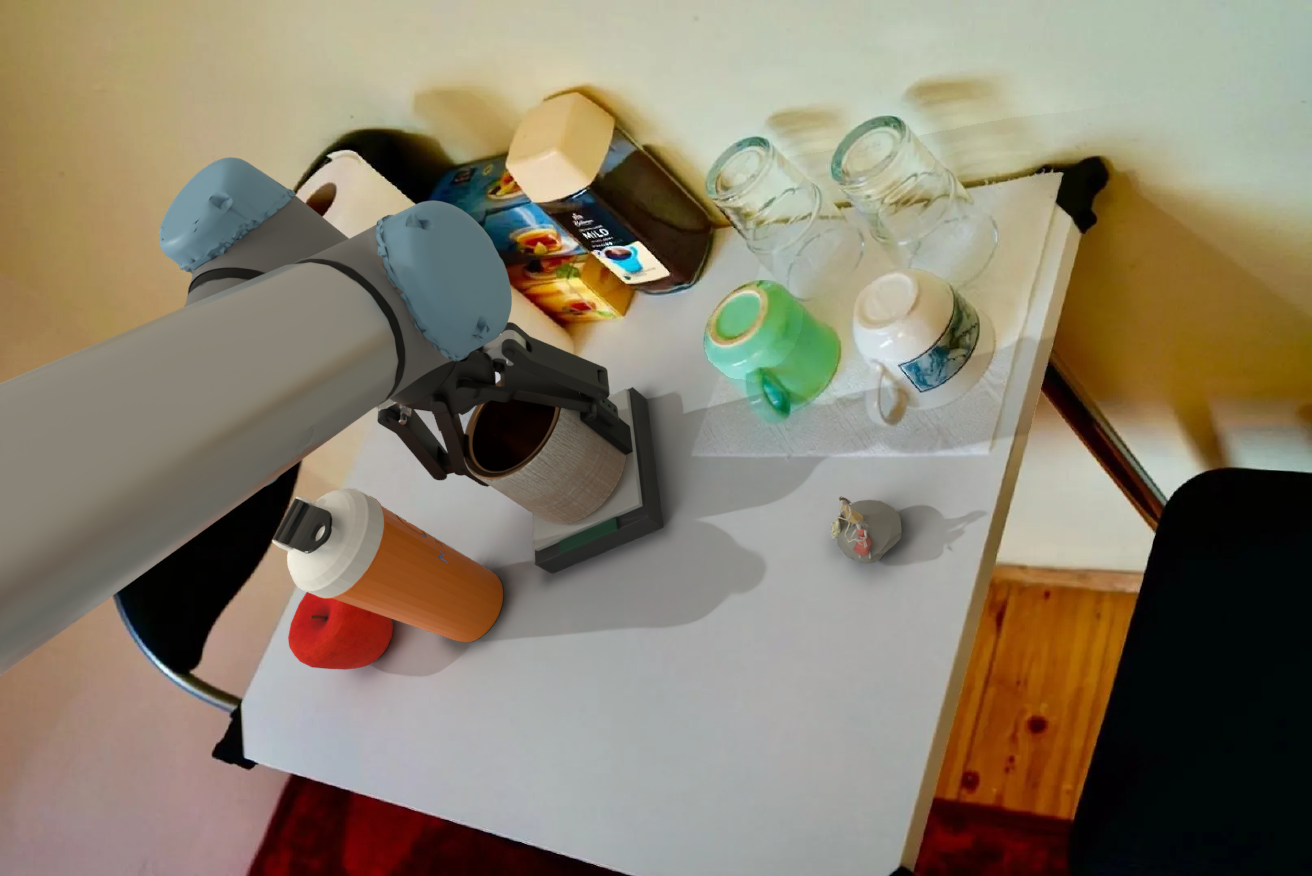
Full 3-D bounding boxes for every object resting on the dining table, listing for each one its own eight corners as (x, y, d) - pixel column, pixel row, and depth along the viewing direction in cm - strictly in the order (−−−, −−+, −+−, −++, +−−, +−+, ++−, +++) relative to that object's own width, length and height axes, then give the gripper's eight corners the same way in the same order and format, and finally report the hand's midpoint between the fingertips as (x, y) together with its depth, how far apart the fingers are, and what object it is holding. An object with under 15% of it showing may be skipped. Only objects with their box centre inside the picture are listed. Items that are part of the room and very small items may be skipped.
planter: (579, 548, 76) (505, 503, 69) (514, 496, 83) (441, 450, 76) (653, 443, 77) (587, 388, 70) (581, 401, 84) (515, 348, 77)
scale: (663, 528, 76) (644, 514, 74) (551, 575, 80) (530, 563, 78) (646, 398, 84) (629, 383, 82) (545, 448, 89) (526, 434, 86)
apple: (379, 582, 93) (319, 555, 88) (422, 616, 87) (360, 589, 82) (332, 659, 92) (267, 637, 86) (372, 698, 86) (306, 678, 80)
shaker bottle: (492, 660, 80) (309, 585, 65) (427, 645, 85) (245, 574, 71) (524, 565, 83) (357, 474, 68) (460, 557, 88) (292, 471, 74)
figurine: (909, 507, 64) (879, 472, 60) (910, 565, 62) (880, 533, 58) (840, 516, 67) (806, 484, 63) (839, 572, 65) (804, 542, 61)
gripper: (514, 220, 61) (680, 379, 77) (284, 364, 70) (474, 479, 86) (516, 299, 57) (691, 449, 73) (270, 441, 66) (473, 548, 82)
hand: (574, 466), depth 79 cm, fingers closed on planter, 11 cm apart
